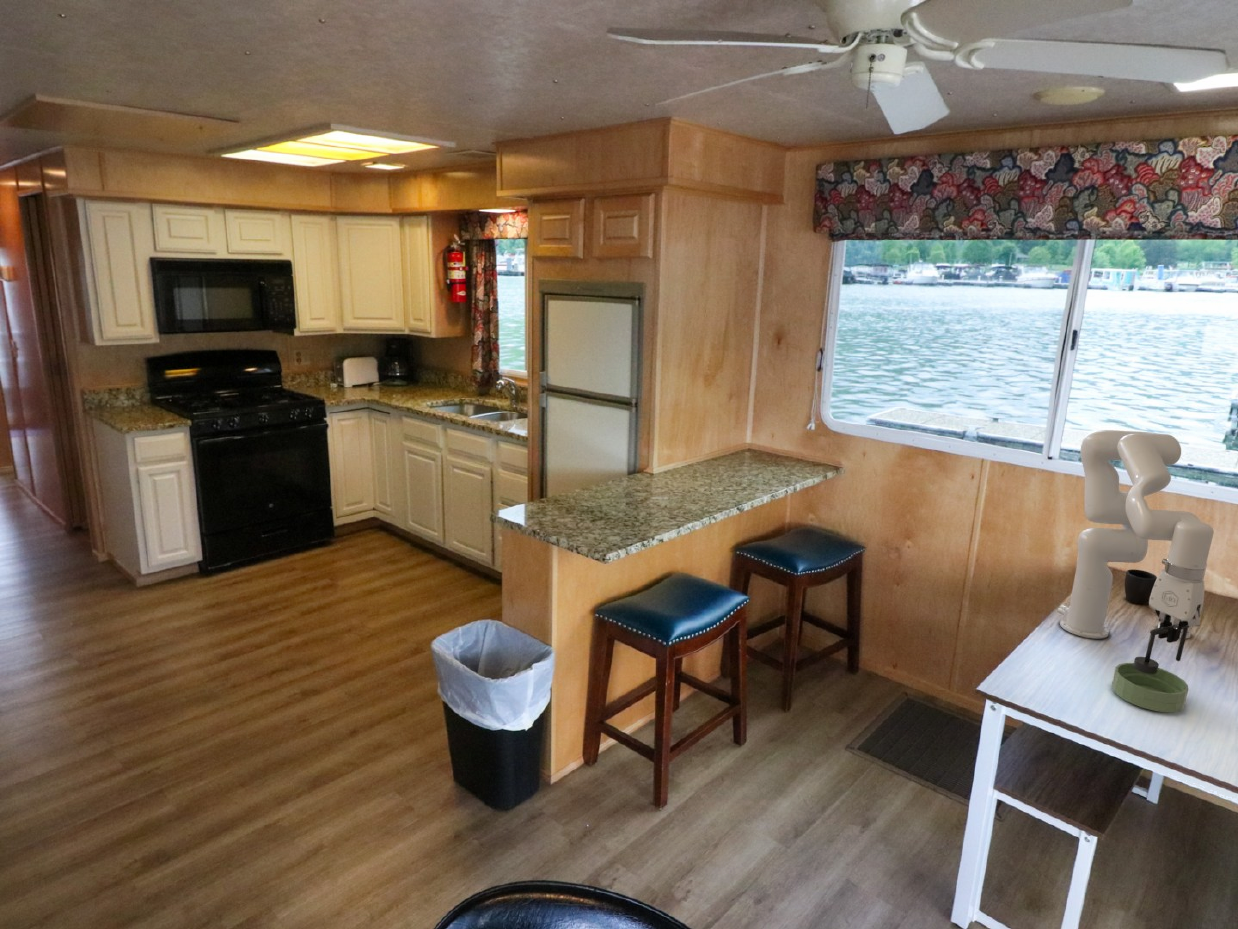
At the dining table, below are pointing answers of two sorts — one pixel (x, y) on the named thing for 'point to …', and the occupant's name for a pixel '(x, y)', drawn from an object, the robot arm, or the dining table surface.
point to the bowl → (1150, 688)
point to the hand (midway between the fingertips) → (1167, 639)
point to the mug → (1139, 586)
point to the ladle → (1145, 662)
